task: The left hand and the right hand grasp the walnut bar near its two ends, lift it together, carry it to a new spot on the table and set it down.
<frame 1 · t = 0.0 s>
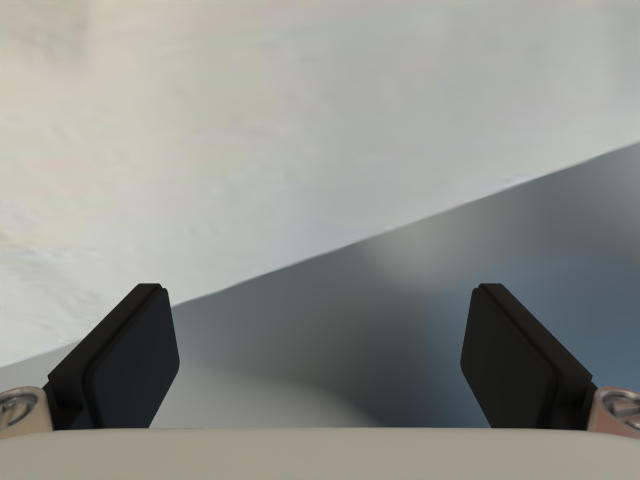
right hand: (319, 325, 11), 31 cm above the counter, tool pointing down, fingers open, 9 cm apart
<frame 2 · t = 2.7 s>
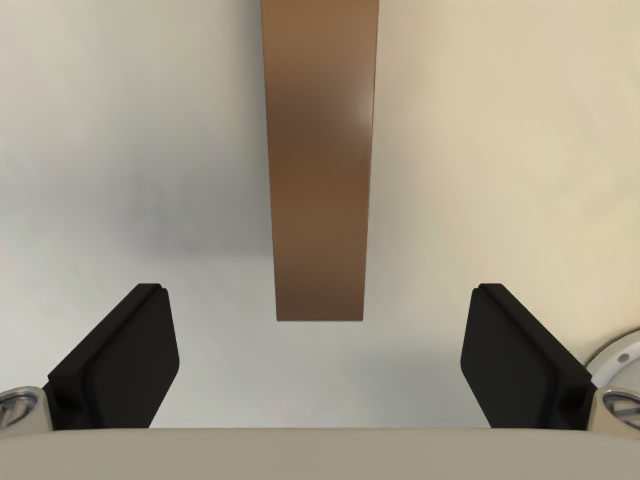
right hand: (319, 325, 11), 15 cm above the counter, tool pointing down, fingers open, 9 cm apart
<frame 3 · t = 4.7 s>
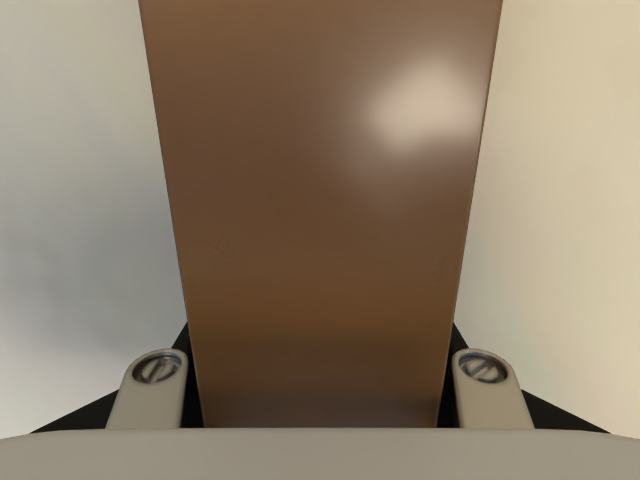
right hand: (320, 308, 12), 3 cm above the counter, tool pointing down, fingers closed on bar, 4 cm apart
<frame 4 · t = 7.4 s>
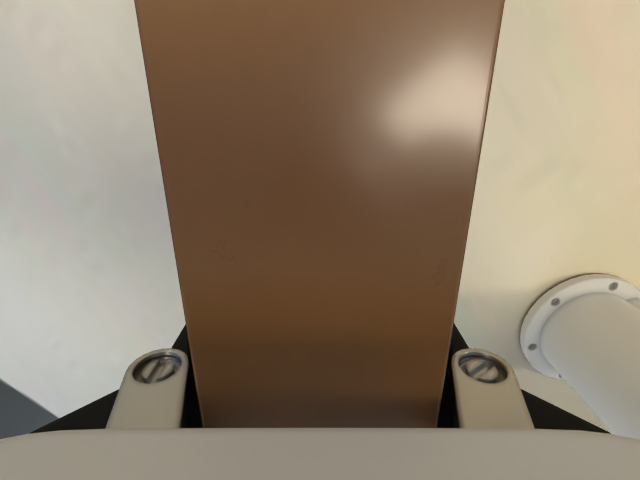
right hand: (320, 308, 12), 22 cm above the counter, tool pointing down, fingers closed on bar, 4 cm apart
when the left hand's fingers open (4 cm above the counter, at t = 12.1 s): bar drops 1 cm, on the counter.
when the right hand's fingers open (4 cm above the counter, at t = 12.1 s): bar drops 1 cm, on the counter.
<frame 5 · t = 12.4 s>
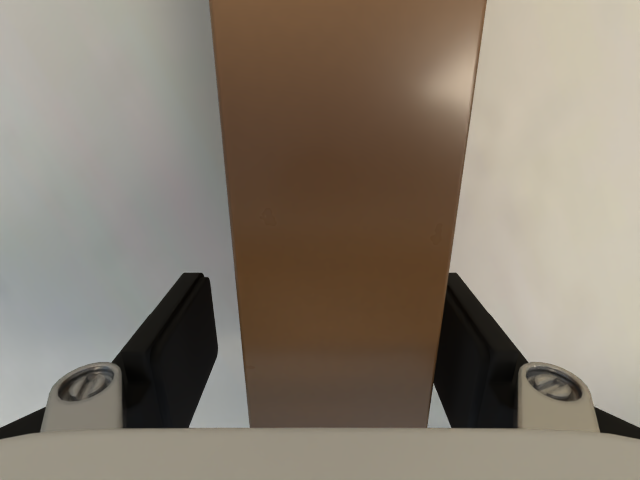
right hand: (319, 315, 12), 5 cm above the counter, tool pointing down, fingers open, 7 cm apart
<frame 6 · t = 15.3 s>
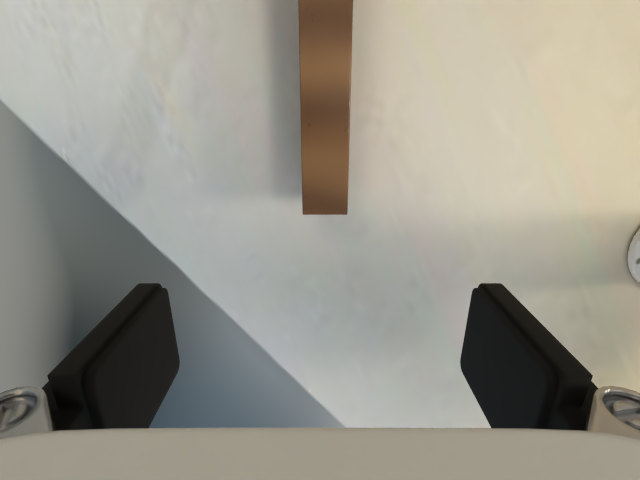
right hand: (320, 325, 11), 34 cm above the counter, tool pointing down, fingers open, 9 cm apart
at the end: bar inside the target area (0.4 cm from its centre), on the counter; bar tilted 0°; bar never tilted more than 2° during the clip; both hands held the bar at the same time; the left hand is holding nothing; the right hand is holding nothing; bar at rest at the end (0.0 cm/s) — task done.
